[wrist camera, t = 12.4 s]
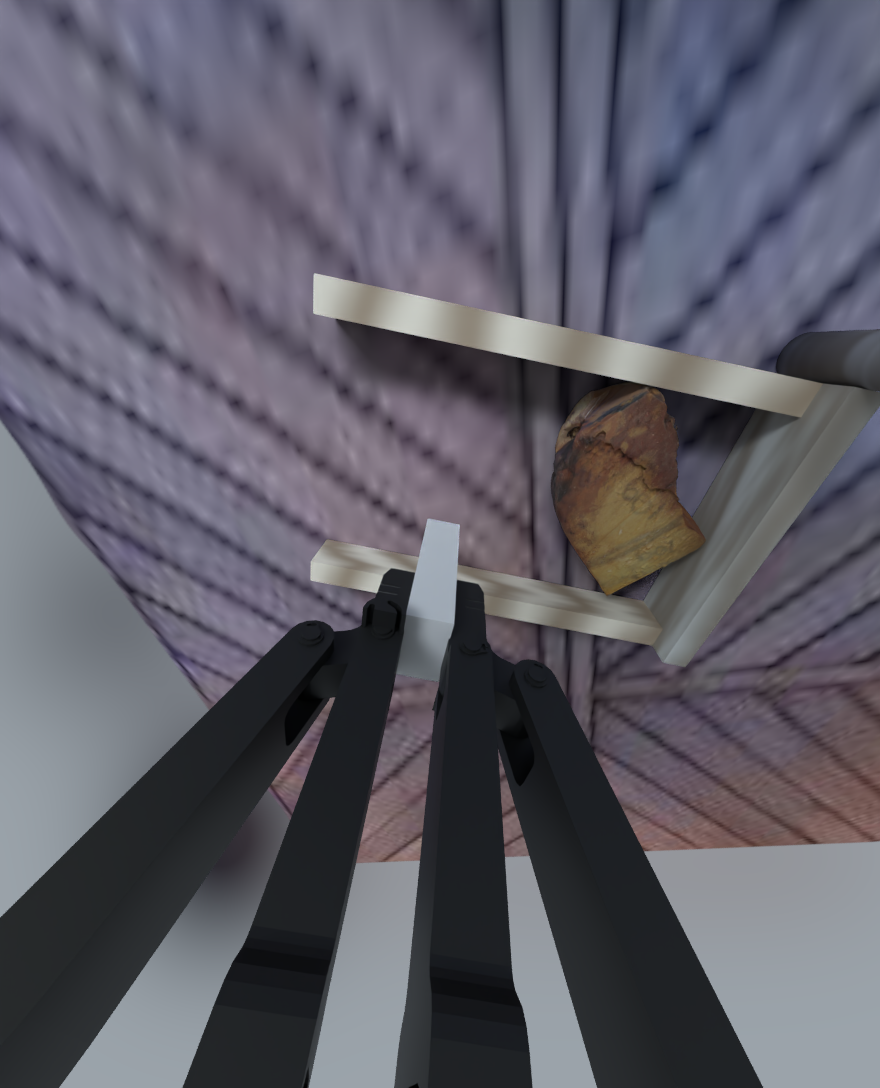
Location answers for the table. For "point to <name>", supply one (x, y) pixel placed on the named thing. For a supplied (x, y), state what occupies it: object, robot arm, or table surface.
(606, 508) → the stone
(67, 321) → the table surface
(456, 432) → the table surface
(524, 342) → the bay
